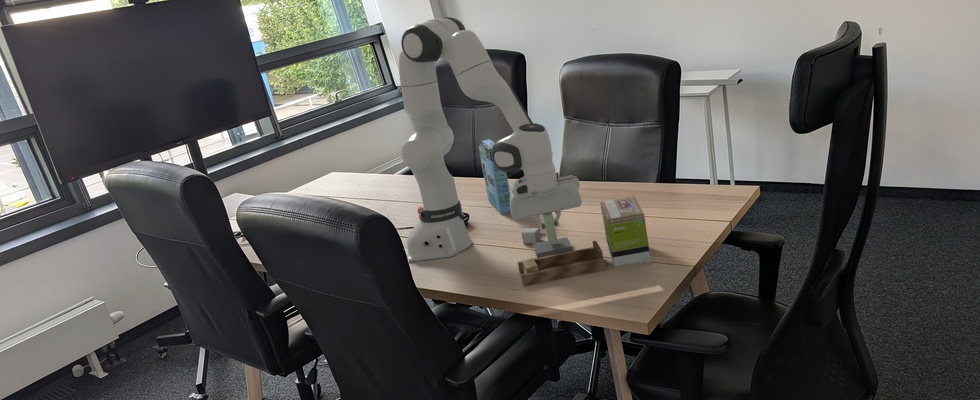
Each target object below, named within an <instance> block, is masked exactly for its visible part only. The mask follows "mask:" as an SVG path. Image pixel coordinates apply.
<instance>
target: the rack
mask: <svg viewBox="0 0 980 400" xmlns="http://www.w3.org/2000/svg"><path fill="white" fill-rule="evenodd" d="M533 259H534V261H535V262H536V264H537V266H538V271H535V272H530V273H524V268H523V261H522V260H521V261H517V266H518V267H517V268H518V273H519V275H520V279H521V283H522V286H523V287H528V286H533V285H537V284H542V283H547V282H553V281H557V280H561V279H567V278H572V277H577V276H582V275H587V274H592V273H598V272H602V271H603V272H604V271H606V263H605V259H604V255H603V250H602V248H601V246H600V245H599V244H598V242H597V241H596V240H594V241H593V240H592V247H586V248H581V249H575V250H572V251H570V252H565V253H560V254H555V255H550V256H545V257H540V258H537V257H536V258H533Z"/></svg>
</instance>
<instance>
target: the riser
mask: <svg viewBox="0 0 980 400" xmlns="http://www.w3.org/2000/svg"><path fill="white" fill-rule="evenodd" d="M557 241H558V242H554V243H549V242H548V240H547V241H539V242H538V243H535V244H533V250H534V253H535V256H536V258H540V257H545V256H550V255H555V254H560V253H565V252H570V251H573V246H572V244H571V242H570V241H569V239H568V237H567V236H566V237H561V238H557Z"/></svg>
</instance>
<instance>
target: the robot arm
mask: <svg viewBox="0 0 980 400" xmlns="http://www.w3.org/2000/svg"><path fill="white" fill-rule="evenodd" d="M400 40H401V43H400V44H401V49H402V50H401V51H400V53H399V58H398V72H399V73H398V75H399V82H400V90H401V96H402V101H403V102H402V103H403V109H404V112H405V113H406V114H407V115H408V116H409V119H410V120H411V123H412V125H413V126H412V127H413V128H414V129H413V130H414V133H413V134H412V135H410V136H409V137H408V138H407V139H406V140H405V142H404V144H403V145H402V148H401V154H400V155H401V159H402V162H403V163H404V165H406V167H407V168H409V169H410V170H411V172H412V174H413V176H414V178H415V181H416V183H417V185H418V189H419V191H420V197H421V202H422V206H418V207H417V213H418V219H419V221H418V222H417V223H416V225H414V227H413V228H412V229H411V230H410V231H409V233H408V235H407V238H406V239H407V240H406V243H407V245H406V246H405V247H404V249H405V250H406V253H407V257H408V260H409V262H408V263H412V262H419V261H427V260H434V259H435V260H436V259H442V258H443V259H444V258H450V257H454V256H455V255H457V254H458V253H459V252H461V251H462V252H463V251H464V250H465V249H467V248H469V247H470V246H471V245H472V244H473V240H472V238H471V237H470V234H469V232H468V229H467V228H466V224H465V222H464V211H463V207H462V204H461V201H460V200H459V197H458V191H457V187H456V182H455V178H454V176H453V175H452V174H451V173H450V172H449V170H448V168H447V166H446V163H445V161H444V160H445V159H444V156H446V154H448V153H449V152H450V150H451V149H452V146H453V143H454V140H455V137H454V132H453V129H451V127H450V126H449V125H448V121H447V119H446V116H445V114H444V113H445V112H444V111H443V107H442V102H441V96H440V89H439V84H438V83H439V82H438V77H437V70H436V67H437V66H436V64H437V62H438V61H439V60H445V61H446V62H447V63H448V64H449V65H450V67H451V69H452V70H451V71H452V73H453V75H454V77H455V79H456V81H457V83H458V86H459V88H460V90H461V91H462V92H463V94H464V95H465V96H466V97H468V98H470V99H473V100H475V101H480V102H487V103H490V104H493V105H495V106H496V107H498V108H499V109H500V111H501V112H502V114H503V116H504V117H505V119H506V121H507V123H508V124H509V125H510V127H511V128H510V129H512V131H513V132H512V133H511V134H510V135H508V136H506V137H504V138H501V139H499V140H498V141H496V142H494V143H495V144H494V145H493V147H492V151H491V156H492V160H493V163H494V164H495V166H496V167H497V168H498V169H499V170H501V171H503V172H507V173H512V172H515V171H518V170H522V171H523V176H522V177H520V178H518V179H516V180H515V181H513V182H512V183H510V185H509V188H510V211H511V212H510V215H511V218H512V219H513V220H515V221H516V220H517V221H518V220H522V219H527V218H531V217H534V220H535V221H536V222H537V223H538V225H539V229H540V230H545V228H546V227H545V222H544V221H541V220H540V218H541V216H542V214H547V213H551V212H552V213H555V218H553V219H554V224H555V227H559V226H560V223H559V219H560V218H561V215H562V212H561V211H565V210H570V209H575V208H579V207H581V206H582V203H583V201H582V198H581V193H580V190H579V188H580V186H581V185H580V180H579V178H578V177H577V176H575V175H572V174H571V175H566V176H560V177H559V176H558V177H557V172H556V167H555V166H556V165H555V164H554V162H553V153H554V152H553V148H552V143H551V140H550V135H549V133H548V131H547V128H546V127H545V126H544V125H542V124H540V123H534V122H533V121H532V119H531V118H530V116H529V114H528V112H527V111H526V108H525V107H524V106H523V103H522V102H521V101H520V98H519V97H518V96H517V93H516V92H515V90H514V89H513V87H512V86H511V85H510V84H509V82H508V81H507V80H505V79H504V78H503V77H502V76H501V75H500V74H499V72H498V70H496V67H495V66H494V64H493V62H492V59H491V57H490V55H489V53H488V51H487V50H486V48H485V46H484V44H483V43H482V41H481V40H480V38H479V37H478V36H477V34H476V33H475V32H474V31H471V30H468V29H466V26H465V25H464V24H463V22H461V20H459V19H457V18H454V17H449V16H448V17H447V16H446V17H441V18H434V19H428V20H427V21H424V22H421V23H420V24H419V23H418V24H414V25H412V26H410V27H408V28H407V29H406V30H405V31H404V32H403V34H402V37H401V39H400Z"/></svg>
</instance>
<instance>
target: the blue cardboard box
mask: <svg viewBox="0 0 980 400" xmlns="http://www.w3.org/2000/svg"><path fill="white" fill-rule="evenodd" d="M495 143H496V142H494V141H493V140H491V139H489V138H488V139H484V140H480V141H477V147H478V150H479V157H480V162H481V163H480V164H481V168H482V173H483V180H484V184H485V190H486V195H487V200H488V202H489V203H490V204H491V205H492V206H493V208H494V209H496V211H497V212H498V213H499V214H500V215H501V214H502V215H505V213H506V214H509V212H510V213H511V211H510V195H511V188H510V184H509V178H508V172H503V171H501V170H499V169H498V168H497V167H496V166H495V164H494V163H493V160H492V156H491V151H492V147H493V145H494V144H495Z"/></svg>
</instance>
